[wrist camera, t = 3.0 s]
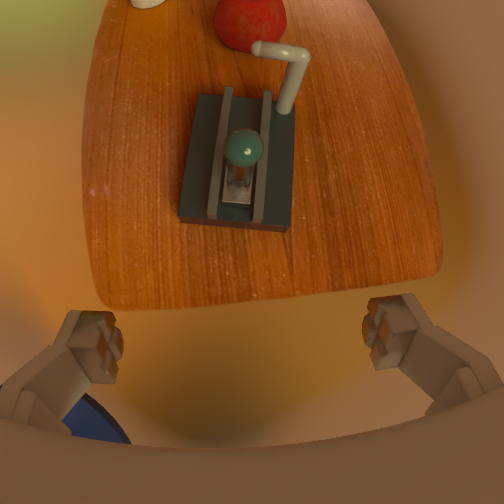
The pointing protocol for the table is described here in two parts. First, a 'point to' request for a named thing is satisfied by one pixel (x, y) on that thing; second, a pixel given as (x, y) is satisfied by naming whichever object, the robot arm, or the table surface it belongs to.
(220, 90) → the table surface
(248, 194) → the tap handle
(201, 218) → the tap base
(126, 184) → the table surface
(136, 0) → the water bottle
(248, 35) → the apple
